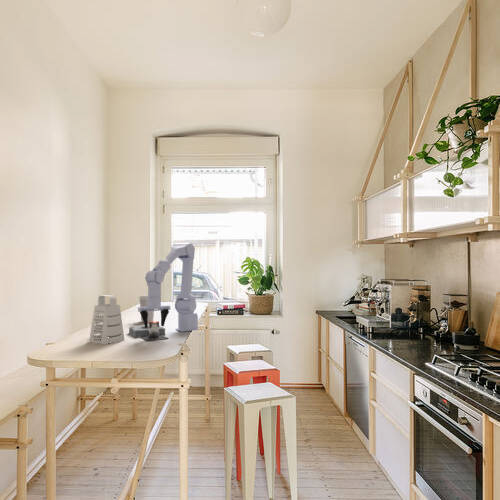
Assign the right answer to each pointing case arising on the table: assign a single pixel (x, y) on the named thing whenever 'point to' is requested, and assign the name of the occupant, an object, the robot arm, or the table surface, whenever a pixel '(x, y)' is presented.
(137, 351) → the table surface
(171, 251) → the robot arm
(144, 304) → the coffee cup
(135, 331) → the housing
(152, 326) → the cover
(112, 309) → the grater
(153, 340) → the mat
